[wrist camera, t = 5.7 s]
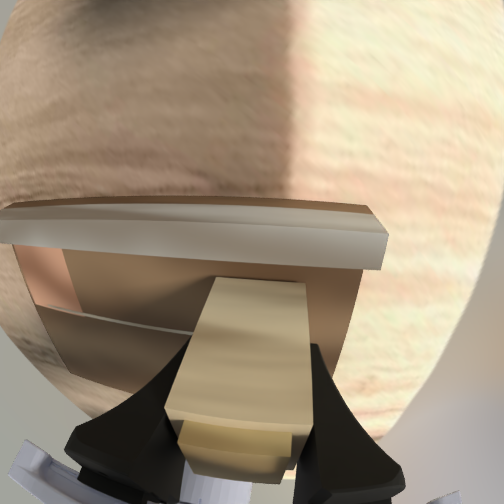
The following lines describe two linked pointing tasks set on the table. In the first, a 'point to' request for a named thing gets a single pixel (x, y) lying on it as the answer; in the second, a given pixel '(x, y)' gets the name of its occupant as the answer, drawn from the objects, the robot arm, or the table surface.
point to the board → (179, 270)
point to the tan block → (245, 382)
